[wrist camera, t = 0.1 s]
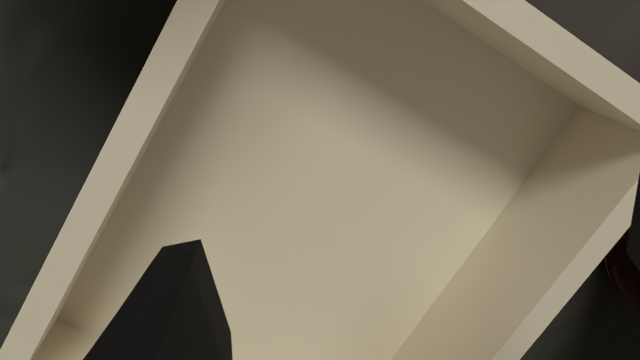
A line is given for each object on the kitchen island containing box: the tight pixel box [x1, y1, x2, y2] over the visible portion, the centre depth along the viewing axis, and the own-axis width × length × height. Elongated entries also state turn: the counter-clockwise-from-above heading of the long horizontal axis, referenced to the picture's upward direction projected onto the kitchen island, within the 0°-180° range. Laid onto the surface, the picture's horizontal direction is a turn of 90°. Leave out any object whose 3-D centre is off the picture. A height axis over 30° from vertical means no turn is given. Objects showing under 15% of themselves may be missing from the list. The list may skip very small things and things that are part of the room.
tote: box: [0, 0, 640, 360], centre depth 18 cm, size 18×14×5 cm
